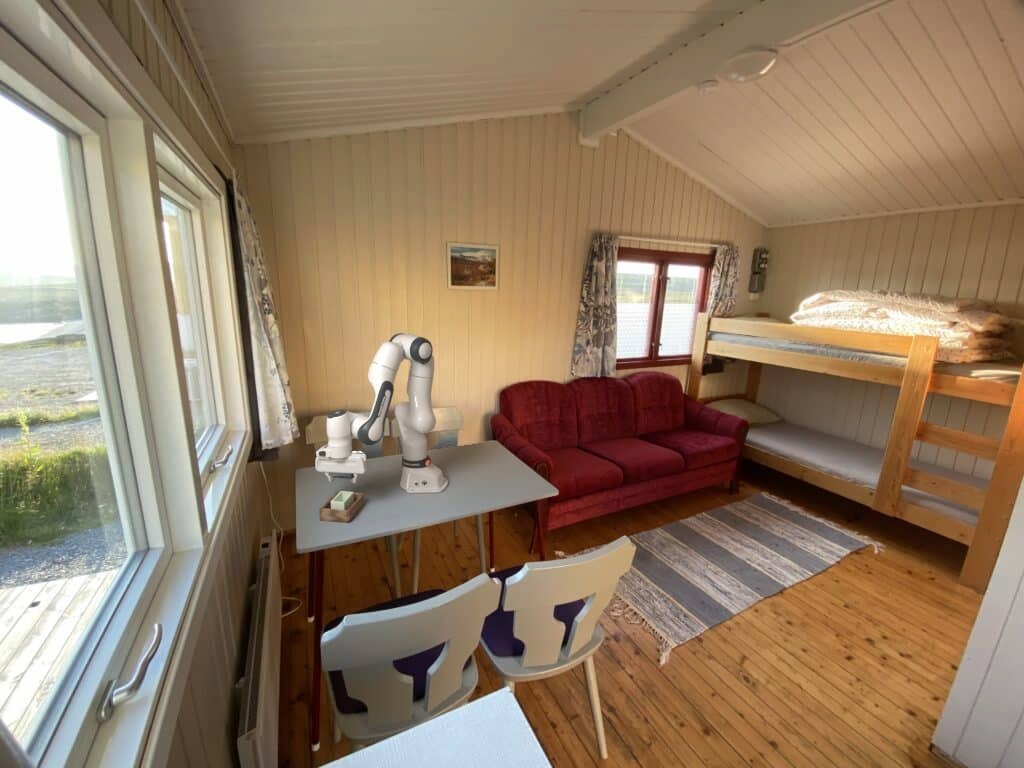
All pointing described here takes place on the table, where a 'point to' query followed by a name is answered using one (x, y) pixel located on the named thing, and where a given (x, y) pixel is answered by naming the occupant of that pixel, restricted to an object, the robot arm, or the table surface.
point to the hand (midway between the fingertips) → (343, 481)
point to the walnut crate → (341, 515)
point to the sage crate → (343, 500)
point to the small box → (343, 475)
